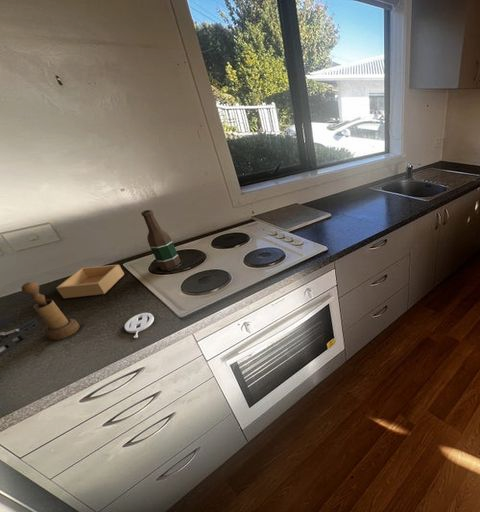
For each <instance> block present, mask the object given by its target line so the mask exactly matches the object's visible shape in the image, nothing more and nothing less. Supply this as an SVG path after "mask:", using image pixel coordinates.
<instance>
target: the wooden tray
mask: <svg viewBox="0 0 480 512" xmlns="http://www.w3.org/2000/svg"><path fill="white" fill-rule="evenodd" d="M124 275H125V272H124V271H123V269H122V267H121V265H120V264H111V265H100V266H99V265H98V266H88V267H81V268H79V269H78V270H77V271H76V272H74V273H73V274H72V275H70V276H69V277H68V278H67V279H65V280H64V281H63V282H62V283H60V284H59V285H58V286H57V287H55V288H56V290H57V291H58V293H59V294H60V295H61V297H62V298H63V299H70V298H79V297H88V296H99V295H105V294H106V293H108V291H109V290H111V288H113V286H115V284H116V283H118V281H119V280H120V279H121V278H123V276H124Z"/></svg>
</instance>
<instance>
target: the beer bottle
mask: <svg viewBox="0 0 480 512" xmlns="http://www.w3.org/2000/svg"><path fill="white" fill-rule="evenodd" d="M154 213H155V212H153V210H152V209H146V210H143V211H142V212H141V213H140V214H141V216H142V217H143V220H144V221H145V224H146V227H147V231H148V233H147V237H146V238H147V243H148V246H149V248H150V250H151V252H152V255H153V257H154V258H155V260H156V262H157V265H158V267H159V268H160V270H161V271H163V272H164V271H165V272H166V271H167V272H170V271H172V270H173V271H174V270H176V269H178V268H179V267H180V266H181V265H182V261H181V259H180V255H179V254H178V252H177V249H176V246H175V245H174V242H173V240H172V238H171V236H170V234H169V233H168V232H167V231H165V230H164V229H162V228H161V226H160V225H159V223H158V221H157V219H156V217H155V215H154ZM180 262H181V264H179V263H180ZM178 264H179V265H178ZM176 265H178V266H177V267H174V268H171V267H173V266H176ZM161 268H166V269H161ZM168 268H171V269H168Z"/></svg>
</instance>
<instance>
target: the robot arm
mask: <svg viewBox="0 0 480 512" xmlns="http://www.w3.org/2000/svg"><path fill="white" fill-rule="evenodd" d="M12 323H13V320H12V319H11V317H10V316H7V315H6V316H2V317H0V330H2V329H4V328H6V327H7V326H9V325H11V324H12ZM39 326H40V322H39V321H38V320H37V319H36V318H31V319H29V320H27V321H25V322H24V323H22V324H21V325H19V326H18V327H16V328H15V329H12V330H9V331H6V332H5V331H0V357H1V356H3V355H4V354H6V353H8V352H9V351H11V350H13V349H14V348H16V347H18V346H19V345H21V344H23V343H24V342H26V341H27V340H29V338H28V336H26V334H28V333H30V332H31V331H32V330H34V329H36V328H38V327H39Z"/></svg>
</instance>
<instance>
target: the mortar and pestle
mask: <svg viewBox="0 0 480 512" xmlns="http://www.w3.org/2000/svg"><path fill="white" fill-rule="evenodd" d="M21 291H22V292H23V293H25V294H27V295H30V296H31V297H32V298H31V300H32V301H33V302H35V304H33V306H32V307H33V309H34V310H35V311H36V313H37V314H38V315H39V316H40V318H41V319H42V321H43V322H44V323H45V324H46V325H47V326H48V327H47V329H46V330H45V334H46V335H47V337H48V338H49V339H50V340H51V341H59V340H62V339H63V340H64V339H65V338H68V337H70V336H71V335H73V334H75V333H76V332H78V330H79V329H80V327H81V326H80V324H79V323H78V322H77V320H76V319H74V318H67V317H66V316H65V315H64V312H62V311H61V310H60V308H59V307H58V305H57V304H56V303H55V301H54V300H53V299H51V298H47V299H46V296H45V294H41V293H40V286H39V284H38V283H36V282H25V283H24V284H22V285H21Z"/></svg>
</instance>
